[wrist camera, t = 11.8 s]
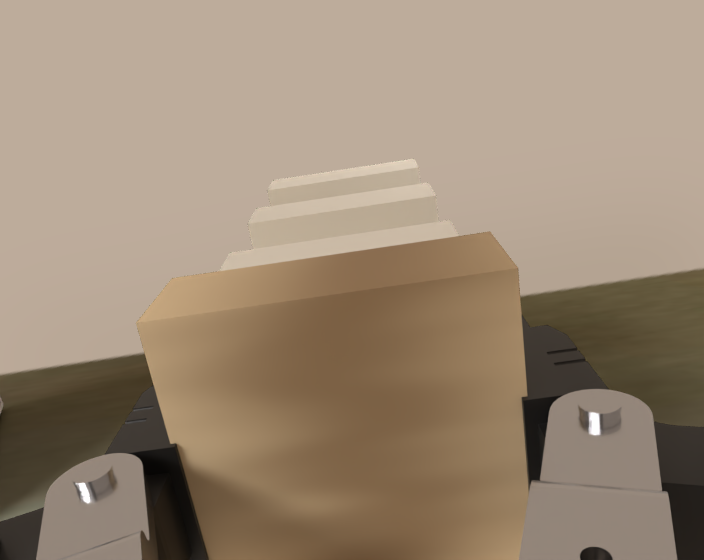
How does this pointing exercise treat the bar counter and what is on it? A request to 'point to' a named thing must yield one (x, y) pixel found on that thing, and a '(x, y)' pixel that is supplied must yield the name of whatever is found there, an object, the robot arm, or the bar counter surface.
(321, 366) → the oak domino
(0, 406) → the ink cartridge box
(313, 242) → the ivory domino
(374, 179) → the ivory domino
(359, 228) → the ivory domino
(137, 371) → the bar counter surface
